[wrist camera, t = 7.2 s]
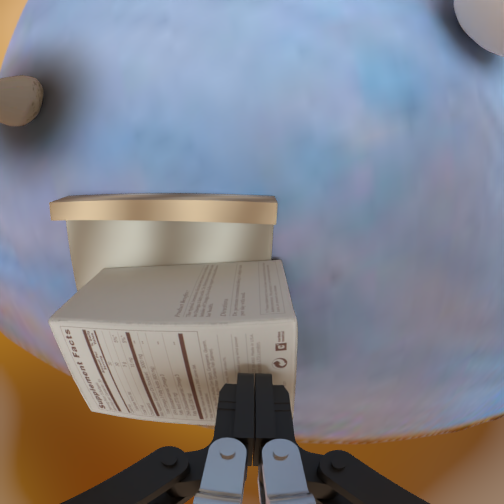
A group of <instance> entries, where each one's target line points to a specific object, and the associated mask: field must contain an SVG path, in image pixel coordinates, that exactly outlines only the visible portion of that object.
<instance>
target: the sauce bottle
mask: <svg viewBox="0 0 504 504" xmlns="http://www.w3.org/2000/svg"><path fill="white" fill-rule="evenodd" d="M454 10H455V13H456V16H457V19H458V22H459V24H460V26H461V27H462V29H463V30H464V31H465V32H466V34H467V35H468V36H469V37H470V38H472V39H473V40H474V41H475V42H476V43H477V44H478V45H480V46H481V47H482V48H484V49H485V50H487V51H489V52H491V53H494V54H497V55H499V56H502V57H504V0H454Z"/></svg>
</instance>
